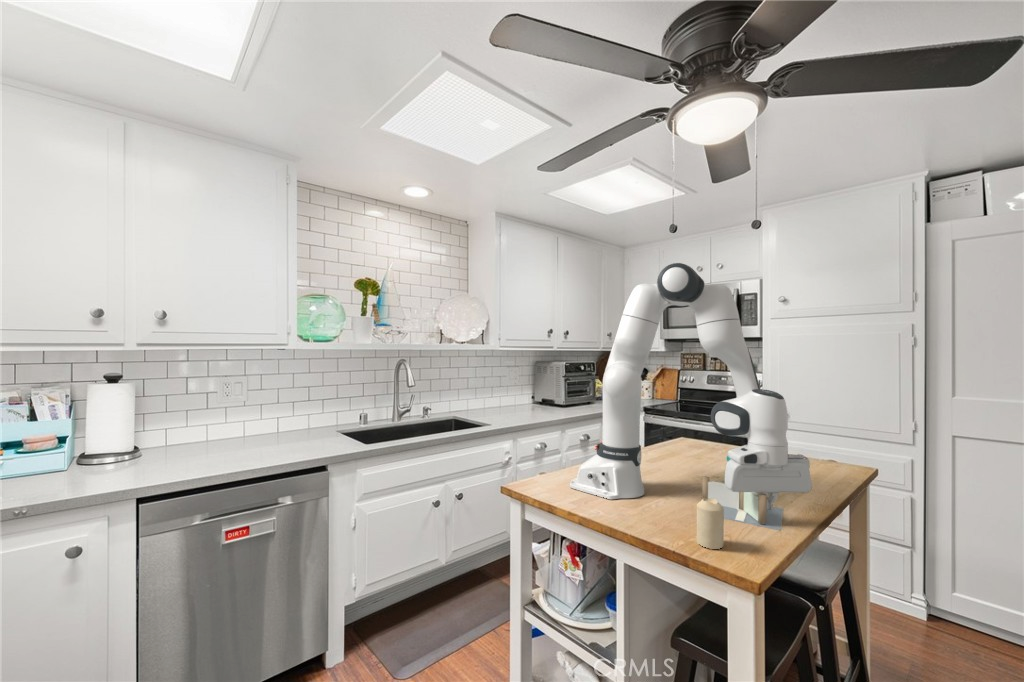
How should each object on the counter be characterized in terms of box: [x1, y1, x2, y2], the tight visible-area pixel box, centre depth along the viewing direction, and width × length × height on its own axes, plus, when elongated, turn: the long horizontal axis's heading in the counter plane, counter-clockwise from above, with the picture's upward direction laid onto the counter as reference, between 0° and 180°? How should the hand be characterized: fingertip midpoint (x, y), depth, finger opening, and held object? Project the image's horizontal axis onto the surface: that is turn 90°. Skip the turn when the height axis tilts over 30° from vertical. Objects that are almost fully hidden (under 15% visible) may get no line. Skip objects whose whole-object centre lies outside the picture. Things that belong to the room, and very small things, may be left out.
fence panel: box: [744, 492, 768, 524], centre depth 113 cm, size 9×2×7 cm, turn 178°
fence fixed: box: [701, 475, 744, 510], centre depth 122 cm, size 11×2×7 cm, turn 57°
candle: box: [696, 498, 725, 550], centre depth 99 cm, size 6×6×10 cm
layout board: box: [722, 506, 784, 532], centre depth 118 cm, size 19×17×1 cm
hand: (767, 508), depth 111 cm, fingers closed
